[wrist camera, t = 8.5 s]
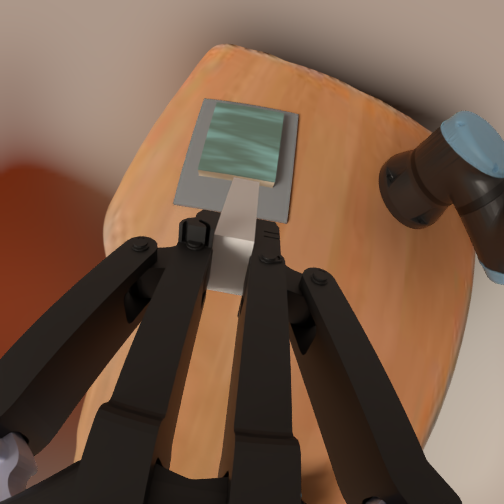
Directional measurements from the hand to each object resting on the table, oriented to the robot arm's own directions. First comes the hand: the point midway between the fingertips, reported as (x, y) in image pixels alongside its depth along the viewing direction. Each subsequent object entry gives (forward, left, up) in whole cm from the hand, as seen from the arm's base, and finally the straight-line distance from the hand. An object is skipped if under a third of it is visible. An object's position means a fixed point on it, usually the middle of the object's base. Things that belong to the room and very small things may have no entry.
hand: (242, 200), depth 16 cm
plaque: (-8, -10, -25) cm, 28 cm away
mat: (-12, -14, -27) cm, 33 cm away
